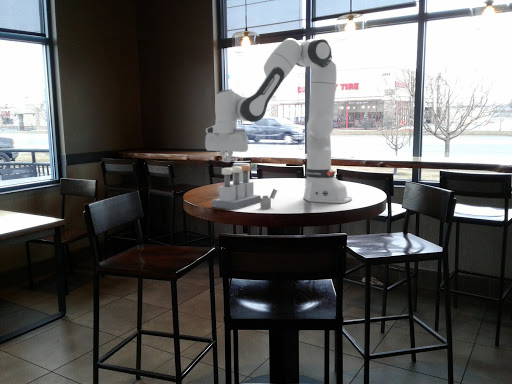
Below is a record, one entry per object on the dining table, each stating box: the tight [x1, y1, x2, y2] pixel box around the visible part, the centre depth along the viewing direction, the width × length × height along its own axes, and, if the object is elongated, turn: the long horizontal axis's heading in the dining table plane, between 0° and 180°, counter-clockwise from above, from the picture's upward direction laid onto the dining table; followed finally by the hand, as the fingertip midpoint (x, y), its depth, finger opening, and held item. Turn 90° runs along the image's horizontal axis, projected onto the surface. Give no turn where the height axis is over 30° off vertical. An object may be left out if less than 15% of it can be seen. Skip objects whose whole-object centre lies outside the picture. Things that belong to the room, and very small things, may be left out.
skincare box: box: [232, 162, 251, 184], centre depth 233 cm, size 8×6×15 cm
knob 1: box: [221, 167, 233, 187], centre depth 189 cm, size 4×4×9 cm
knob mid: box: [230, 166, 242, 185], centre depth 195 cm, size 4×4×9 cm
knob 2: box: [241, 164, 251, 183], centre depth 201 cm, size 4×4×9 cm
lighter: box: [260, 188, 278, 209], centre depth 188 cm, size 7×2×8 cm, turn 105°
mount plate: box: [211, 181, 262, 211], centre depth 196 cm, size 12×20×9 cm, turn 147°
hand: (226, 161), depth 188 cm, fingers closed
